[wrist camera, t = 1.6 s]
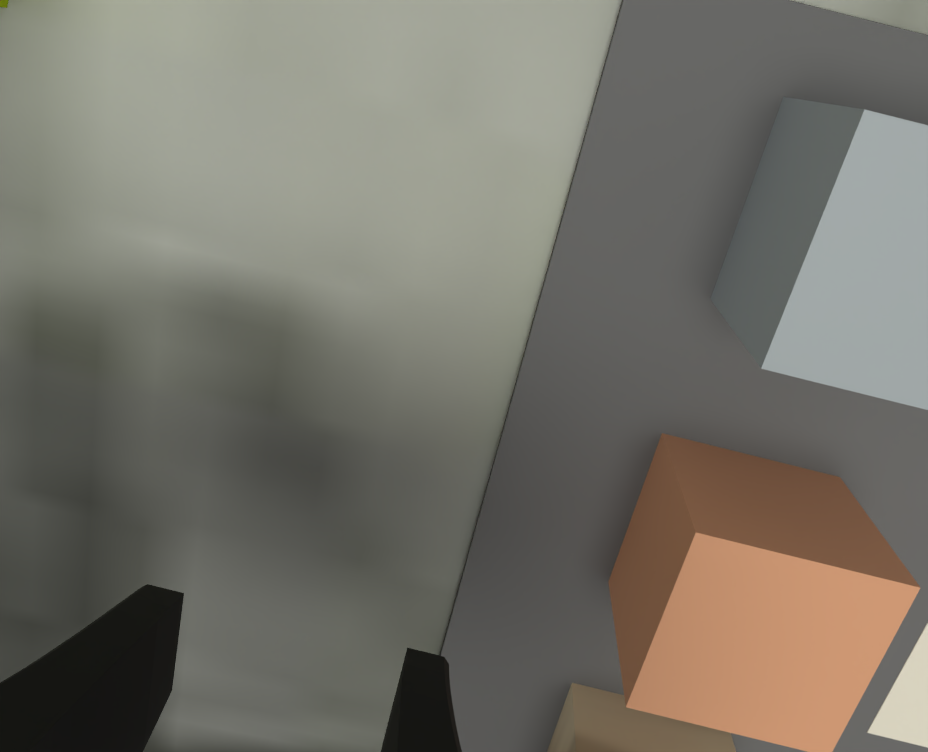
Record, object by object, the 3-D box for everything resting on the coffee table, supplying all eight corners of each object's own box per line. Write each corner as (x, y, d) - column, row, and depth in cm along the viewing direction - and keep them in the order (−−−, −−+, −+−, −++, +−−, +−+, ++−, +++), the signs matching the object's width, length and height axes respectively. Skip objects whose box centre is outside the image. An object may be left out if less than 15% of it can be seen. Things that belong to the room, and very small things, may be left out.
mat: (1079, 964, 26) (1085, 975, 25) (399, 800, 25) (398, 809, 25) (1668, 224, 17) (1689, 227, 17) (632, -38, 17) (634, -40, 16)
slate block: (900, 346, 19) (1006, 429, 15) (710, 299, 19) (761, 368, 14) (992, 149, 17) (1141, 179, 13) (783, 96, 17) (864, 109, 13)
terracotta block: (772, 622, 22) (829, 756, 18) (608, 582, 22) (625, 707, 17) (839, 477, 20) (920, 587, 16) (661, 433, 20) (695, 532, 16)
